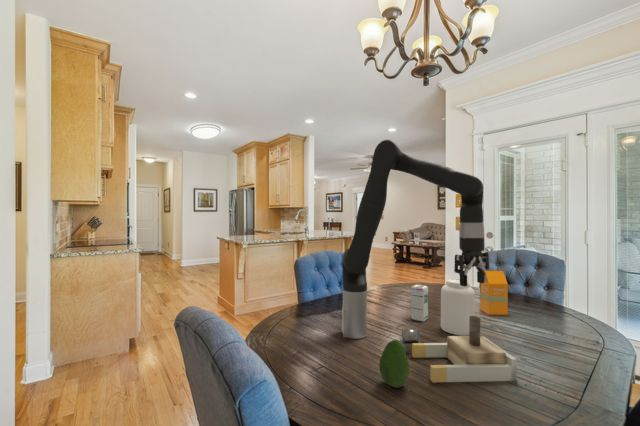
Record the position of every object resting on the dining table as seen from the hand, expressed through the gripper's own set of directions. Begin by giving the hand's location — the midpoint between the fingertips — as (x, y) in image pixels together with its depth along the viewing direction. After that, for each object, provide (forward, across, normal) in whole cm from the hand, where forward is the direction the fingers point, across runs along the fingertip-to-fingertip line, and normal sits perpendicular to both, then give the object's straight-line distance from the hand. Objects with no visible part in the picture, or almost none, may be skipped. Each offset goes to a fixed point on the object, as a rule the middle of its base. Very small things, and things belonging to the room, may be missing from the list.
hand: (472, 284), depth 102 cm
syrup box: (+23, -8, -33) cm, 41 cm away
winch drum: (+22, +18, -11) cm, 30 cm away
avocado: (+22, +37, +4) cm, 43 cm away
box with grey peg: (+23, +8, +6) cm, 25 cm away
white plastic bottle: (+23, -12, -16) cm, 31 cm away
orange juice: (+24, -47, -25) cm, 59 cm away
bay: (+23, +12, +5) cm, 26 cm away
